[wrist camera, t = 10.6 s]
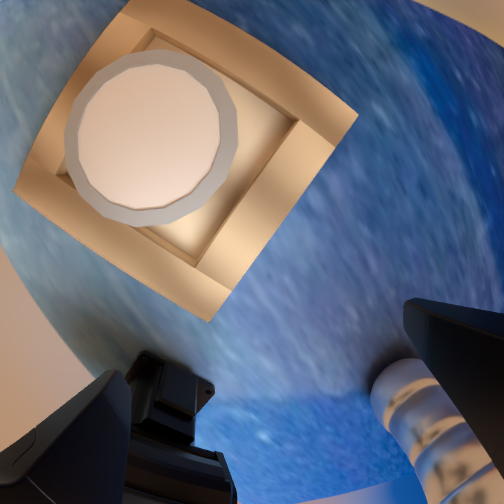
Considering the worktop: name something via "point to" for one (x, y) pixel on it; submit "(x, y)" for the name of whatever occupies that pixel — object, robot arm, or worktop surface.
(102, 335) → the worktop surface
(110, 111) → the white tapered cup
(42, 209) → the holder tray
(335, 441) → the worktop surface
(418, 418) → the plastic bottle
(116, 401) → the robot arm
